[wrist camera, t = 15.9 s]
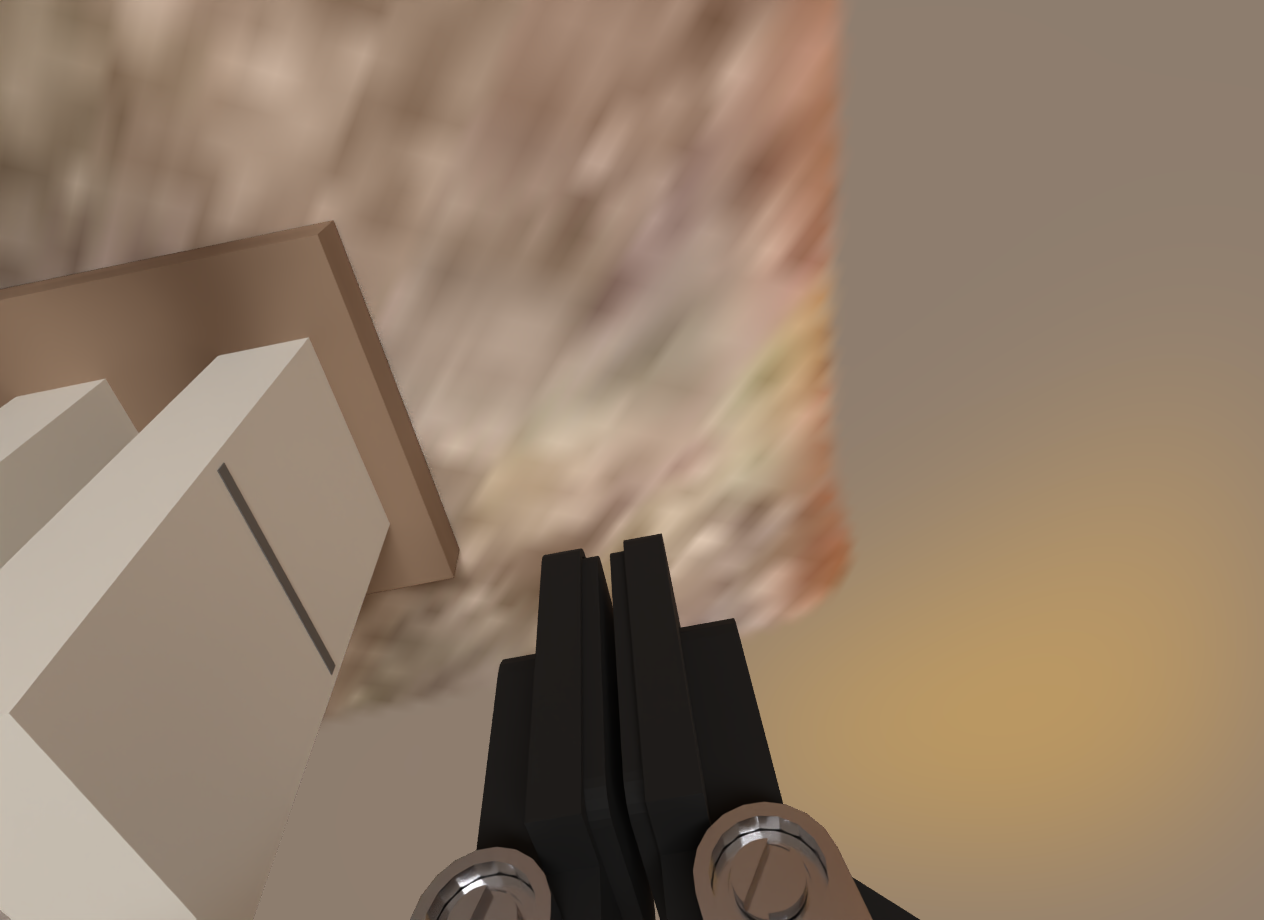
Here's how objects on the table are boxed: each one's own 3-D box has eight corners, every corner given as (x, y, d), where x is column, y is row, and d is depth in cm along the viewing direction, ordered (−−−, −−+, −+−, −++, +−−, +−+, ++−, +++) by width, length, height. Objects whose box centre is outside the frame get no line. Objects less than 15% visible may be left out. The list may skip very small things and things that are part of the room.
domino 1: (310, 539, 19) (92, 989, 10) (217, 356, 16) (-187, 750, 7) (390, 523, 18) (239, 963, 10) (309, 337, 16) (10, 712, 7)
